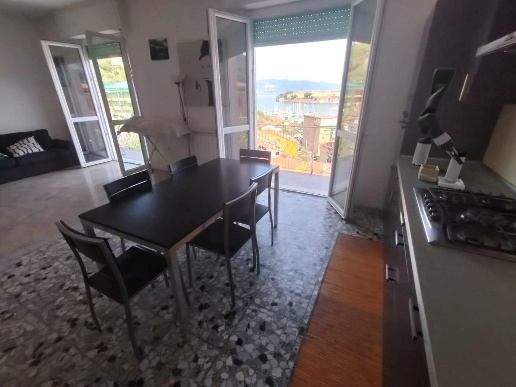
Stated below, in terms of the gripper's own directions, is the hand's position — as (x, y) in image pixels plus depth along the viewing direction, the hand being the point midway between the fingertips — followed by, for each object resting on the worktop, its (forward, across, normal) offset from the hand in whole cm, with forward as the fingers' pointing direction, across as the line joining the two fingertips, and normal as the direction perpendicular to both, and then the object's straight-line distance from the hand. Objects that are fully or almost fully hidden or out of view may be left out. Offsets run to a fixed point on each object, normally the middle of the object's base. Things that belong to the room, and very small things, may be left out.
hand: (460, 162), depth 143 cm
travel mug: (+8, 0, +10) cm, 13 cm away
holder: (+1, +6, +20) cm, 21 cm away
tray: (+10, 0, +12) cm, 15 cm away
